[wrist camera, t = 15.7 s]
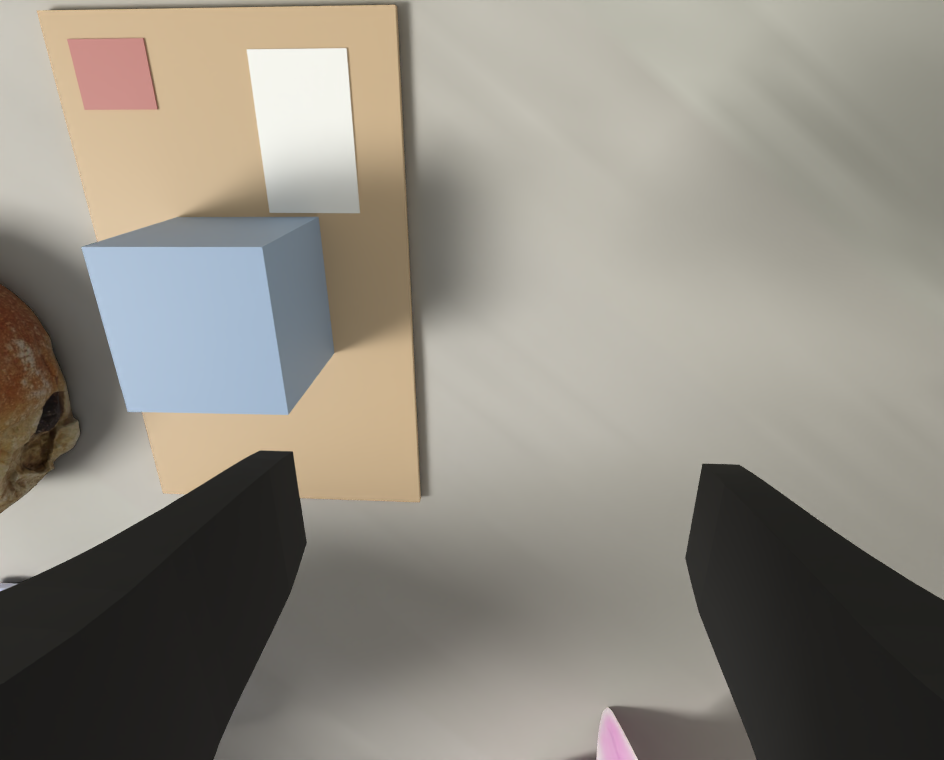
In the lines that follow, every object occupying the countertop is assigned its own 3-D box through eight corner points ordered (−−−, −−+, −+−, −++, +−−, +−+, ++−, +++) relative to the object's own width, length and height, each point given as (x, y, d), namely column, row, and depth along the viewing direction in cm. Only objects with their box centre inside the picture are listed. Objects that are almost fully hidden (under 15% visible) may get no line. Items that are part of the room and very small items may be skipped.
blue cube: (334, 353, 20) (288, 414, 16) (205, 351, 20) (127, 411, 16) (318, 216, 18) (262, 247, 14) (176, 217, 19) (81, 247, 14)
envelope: (420, 497, 23) (419, 502, 22) (167, 488, 23) (162, 494, 23) (397, 6, 16) (394, 4, 16) (44, 12, 17) (35, 10, 16)
